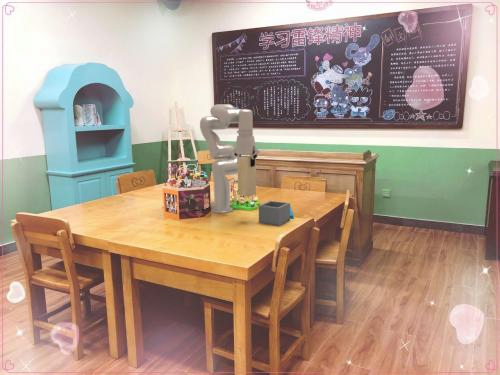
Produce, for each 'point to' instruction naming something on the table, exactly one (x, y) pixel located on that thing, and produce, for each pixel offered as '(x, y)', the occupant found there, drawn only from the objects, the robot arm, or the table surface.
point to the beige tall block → (246, 176)
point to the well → (274, 213)
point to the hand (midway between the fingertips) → (246, 165)
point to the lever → (291, 213)
